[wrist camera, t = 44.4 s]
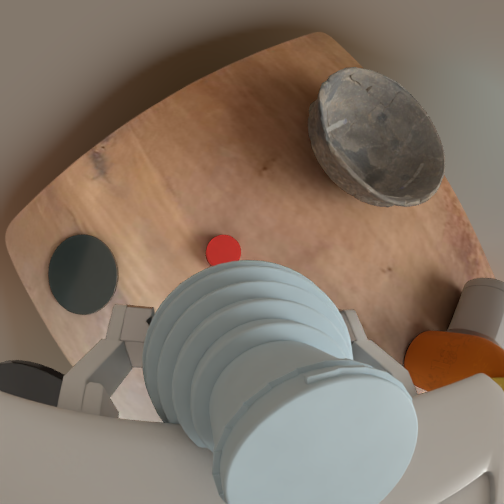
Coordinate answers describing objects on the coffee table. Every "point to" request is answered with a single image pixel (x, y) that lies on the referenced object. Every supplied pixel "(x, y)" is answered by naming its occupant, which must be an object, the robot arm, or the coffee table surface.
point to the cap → (222, 250)
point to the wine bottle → (452, 359)
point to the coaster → (83, 274)
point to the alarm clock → (481, 310)
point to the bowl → (375, 139)
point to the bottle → (276, 389)
